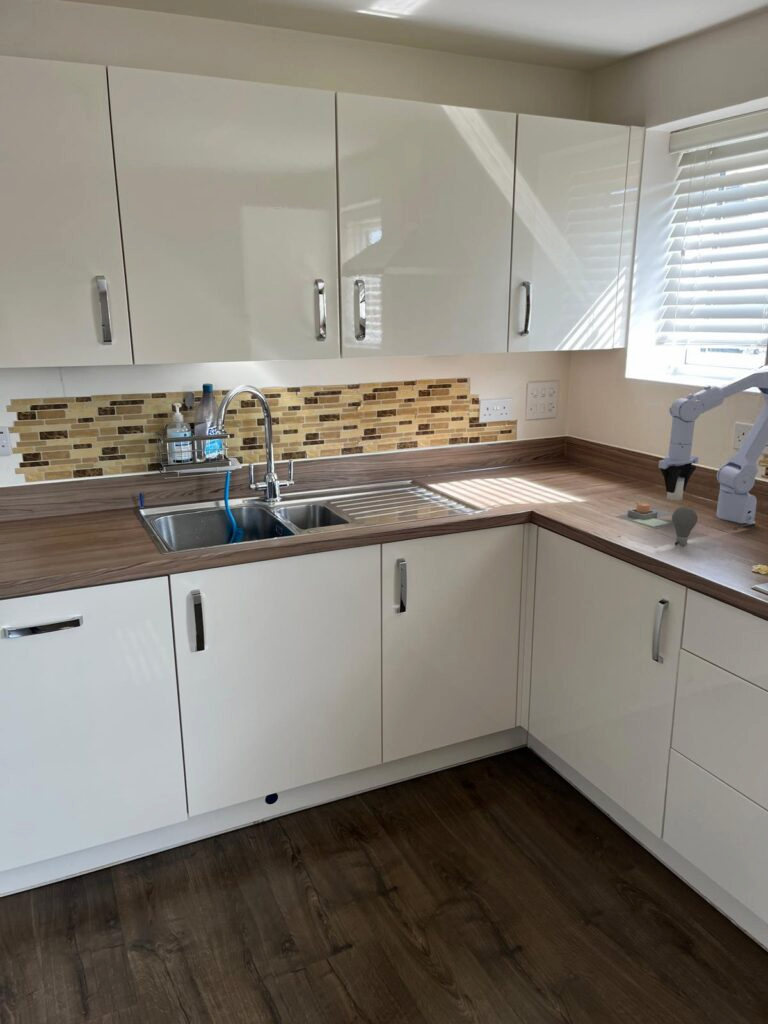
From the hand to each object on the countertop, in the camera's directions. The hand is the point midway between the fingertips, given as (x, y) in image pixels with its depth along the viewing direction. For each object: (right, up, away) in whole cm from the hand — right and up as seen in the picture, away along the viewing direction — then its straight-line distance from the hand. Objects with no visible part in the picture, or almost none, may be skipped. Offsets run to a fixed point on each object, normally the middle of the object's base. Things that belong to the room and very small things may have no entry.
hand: (675, 491), depth 211 cm
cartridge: (0, -2, +1) cm, 2 cm away
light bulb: (-5, -14, -18) cm, 24 cm away
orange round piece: (-8, -7, +3) cm, 11 cm away
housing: (-5, -9, +2) cm, 10 cm away
